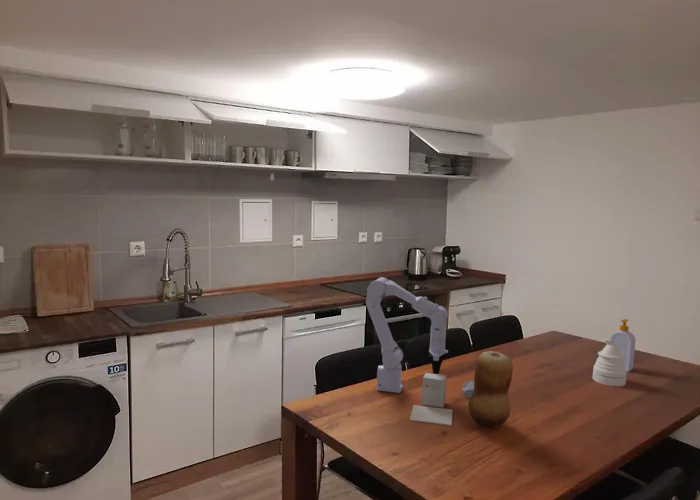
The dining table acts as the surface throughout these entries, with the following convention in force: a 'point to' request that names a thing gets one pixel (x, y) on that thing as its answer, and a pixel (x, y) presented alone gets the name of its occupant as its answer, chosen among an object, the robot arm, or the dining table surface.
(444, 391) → the small box
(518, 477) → the dining table surface
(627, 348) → the soap bottle
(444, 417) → the mat
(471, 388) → the stone block
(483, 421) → the butternut squash
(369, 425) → the dining table surface
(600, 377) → the honey pot
